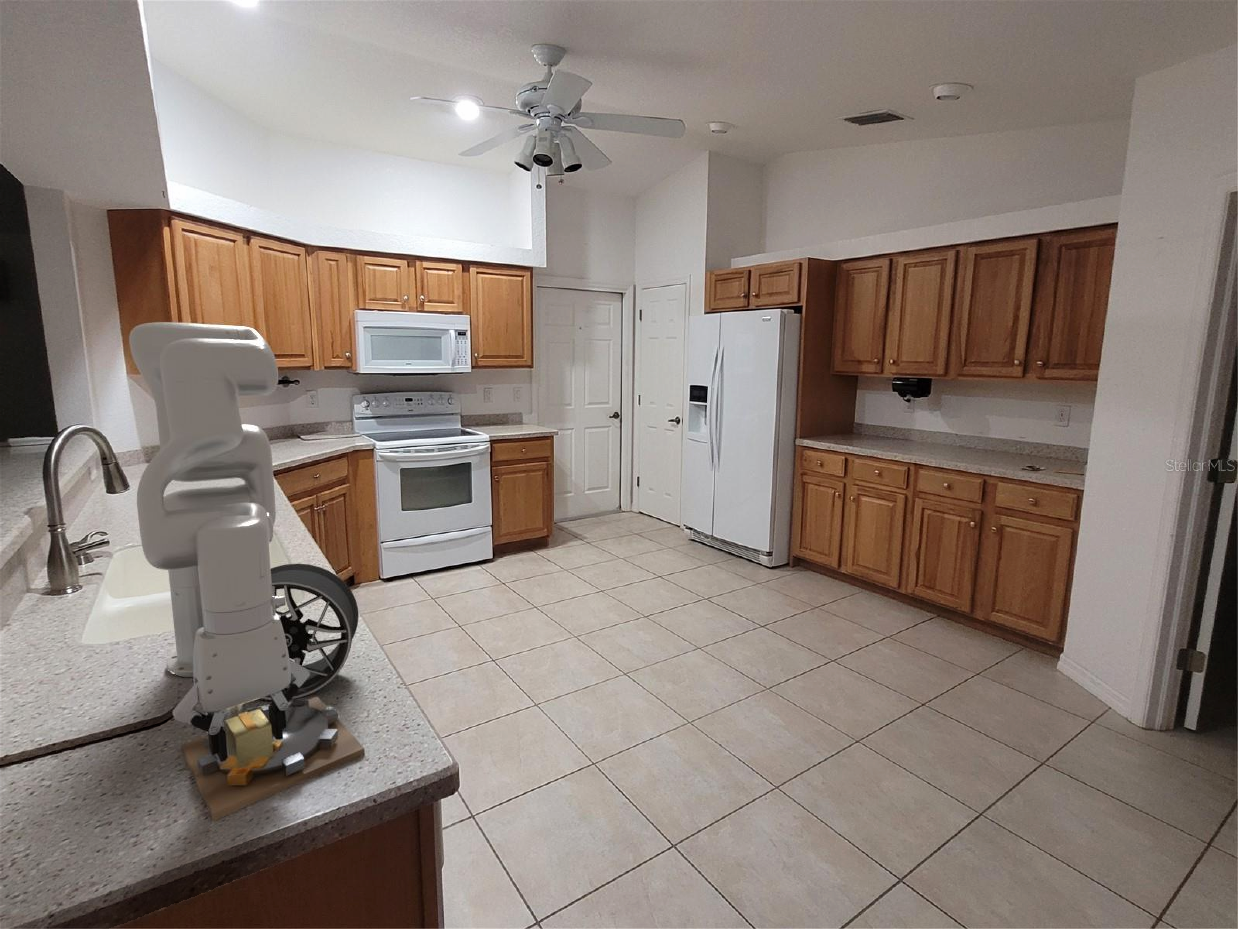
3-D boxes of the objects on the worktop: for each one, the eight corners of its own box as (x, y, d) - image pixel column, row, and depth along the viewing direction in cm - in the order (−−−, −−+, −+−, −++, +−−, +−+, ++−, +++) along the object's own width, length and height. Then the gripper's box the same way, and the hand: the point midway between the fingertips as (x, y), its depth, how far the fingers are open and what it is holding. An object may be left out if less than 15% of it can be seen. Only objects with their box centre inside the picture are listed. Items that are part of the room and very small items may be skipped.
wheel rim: (216, 707, 95) (205, 586, 91) (235, 678, 103) (226, 566, 100) (353, 692, 100) (348, 577, 97) (361, 666, 109) (356, 559, 105)
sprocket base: (181, 750, 84) (180, 742, 84) (317, 702, 97) (317, 694, 97) (213, 821, 72) (212, 811, 72) (364, 754, 84) (364, 746, 84)
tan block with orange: (227, 751, 79) (224, 719, 78) (261, 738, 82) (259, 707, 81) (238, 770, 76) (235, 736, 75) (273, 756, 79) (271, 723, 78)
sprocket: (167, 785, 75) (160, 723, 74) (244, 708, 92) (240, 656, 91) (306, 784, 76) (302, 723, 75) (358, 708, 93) (355, 657, 91)
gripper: (302, 589, 84) (309, 708, 87) (148, 624, 72) (163, 761, 75) (322, 605, 79) (329, 731, 82) (160, 646, 67) (175, 792, 70)
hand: (249, 744), depth 79 cm, fingers open, 5 cm apart
